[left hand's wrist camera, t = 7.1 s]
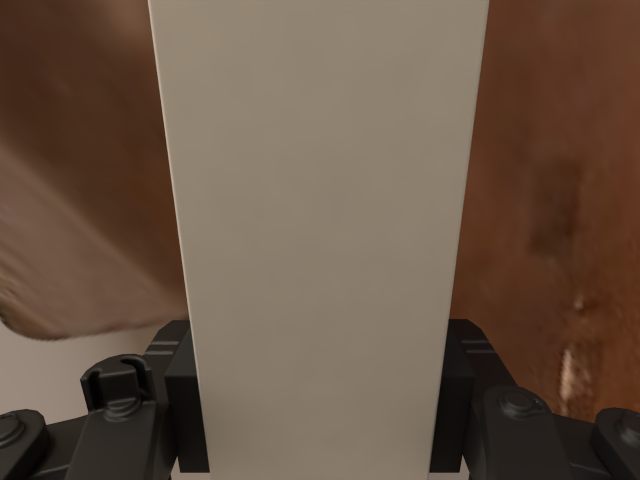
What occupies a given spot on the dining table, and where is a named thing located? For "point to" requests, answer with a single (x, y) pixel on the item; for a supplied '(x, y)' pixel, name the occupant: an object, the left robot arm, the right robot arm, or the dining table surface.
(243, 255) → the post
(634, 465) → the left robot arm
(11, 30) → the dining table surface
